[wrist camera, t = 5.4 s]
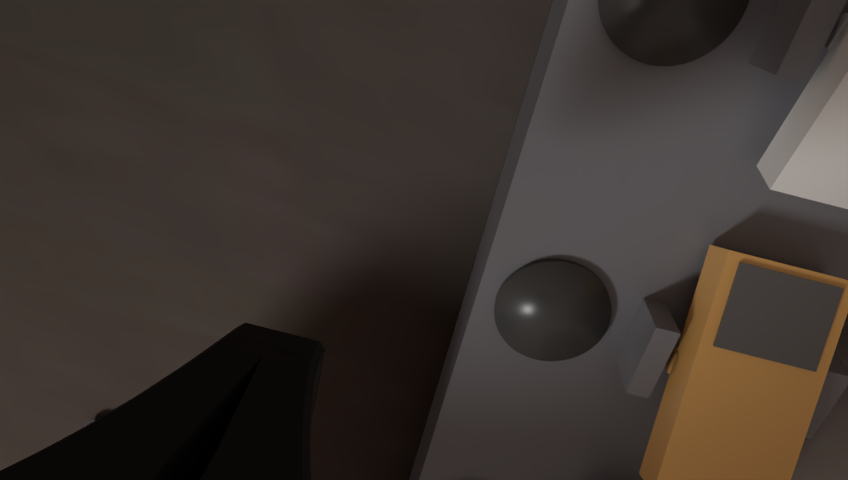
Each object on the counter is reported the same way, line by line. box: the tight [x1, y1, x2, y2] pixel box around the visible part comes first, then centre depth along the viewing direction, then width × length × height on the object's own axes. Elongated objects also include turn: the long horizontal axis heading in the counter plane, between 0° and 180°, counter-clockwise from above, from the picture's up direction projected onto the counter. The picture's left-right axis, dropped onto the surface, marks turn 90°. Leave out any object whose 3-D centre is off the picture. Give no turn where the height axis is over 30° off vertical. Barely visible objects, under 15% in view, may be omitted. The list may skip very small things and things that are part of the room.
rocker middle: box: [639, 245, 848, 480], centre depth 15 cm, size 6×3×2 cm, turn 167°
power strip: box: [409, 0, 848, 480], centre depth 17 cm, size 26×9×4 cm, turn 167°
